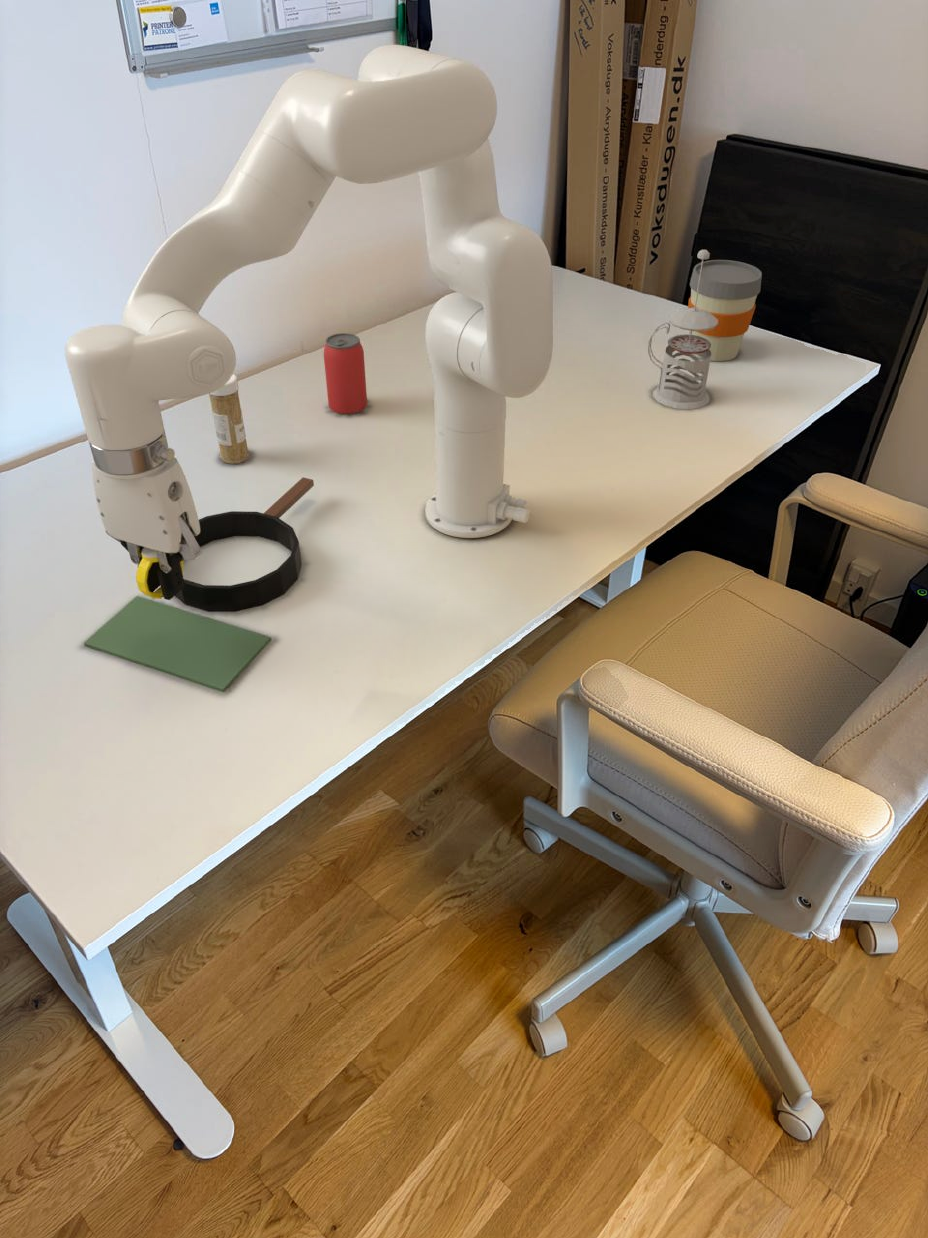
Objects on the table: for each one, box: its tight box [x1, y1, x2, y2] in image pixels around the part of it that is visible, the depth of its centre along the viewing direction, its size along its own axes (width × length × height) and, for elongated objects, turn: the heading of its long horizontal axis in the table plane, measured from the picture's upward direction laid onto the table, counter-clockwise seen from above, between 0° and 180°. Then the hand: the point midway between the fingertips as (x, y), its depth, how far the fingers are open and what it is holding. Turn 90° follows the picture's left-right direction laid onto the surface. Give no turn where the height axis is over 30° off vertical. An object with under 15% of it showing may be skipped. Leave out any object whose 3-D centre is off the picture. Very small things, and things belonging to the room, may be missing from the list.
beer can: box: [323, 332, 368, 416], centre depth 159 cm, size 7×7×12 cm
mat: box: [83, 595, 272, 693], centre depth 115 cm, size 20×10×1 cm, turn 66°
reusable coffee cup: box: [687, 259, 763, 362], centre depth 176 cm, size 13×13×15 cm
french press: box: [647, 249, 718, 410], centre depth 158 cm, size 10×12×25 cm
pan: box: [168, 477, 315, 613], centre depth 129 cm, size 28×17×4 cm, turn 156°
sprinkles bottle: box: [208, 373, 250, 465], centre depth 145 cm, size 5×5×14 cm
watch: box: [135, 547, 184, 600], centre depth 108 cm, size 6×3×6 cm, turn 150°
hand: (164, 589), depth 110 cm, fingers closed on watch, 2 cm apart
